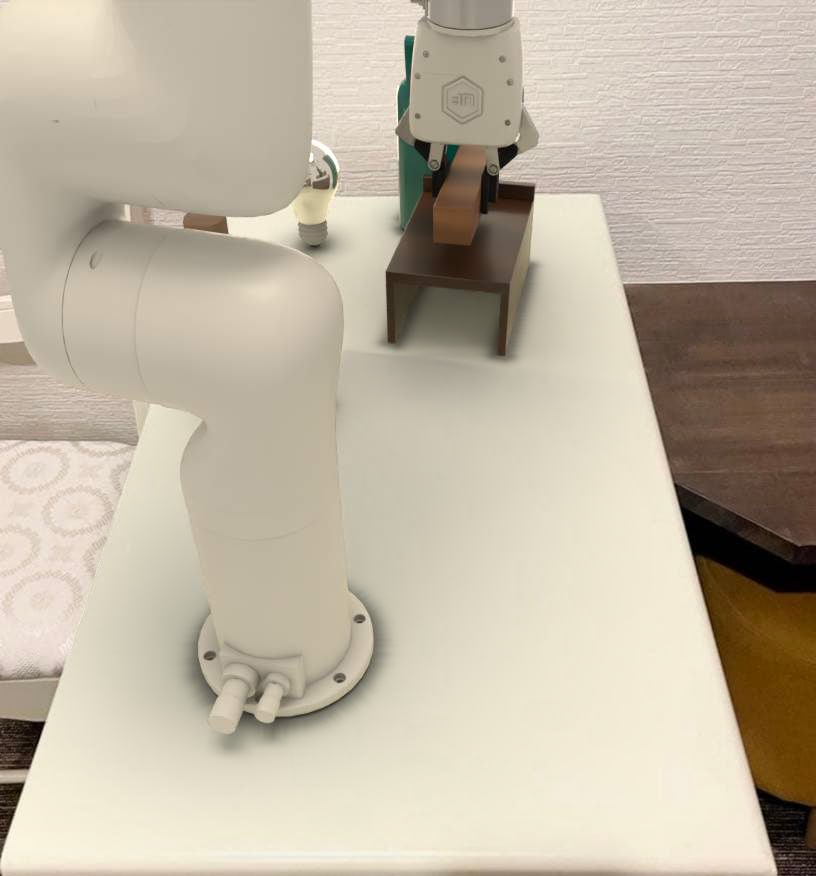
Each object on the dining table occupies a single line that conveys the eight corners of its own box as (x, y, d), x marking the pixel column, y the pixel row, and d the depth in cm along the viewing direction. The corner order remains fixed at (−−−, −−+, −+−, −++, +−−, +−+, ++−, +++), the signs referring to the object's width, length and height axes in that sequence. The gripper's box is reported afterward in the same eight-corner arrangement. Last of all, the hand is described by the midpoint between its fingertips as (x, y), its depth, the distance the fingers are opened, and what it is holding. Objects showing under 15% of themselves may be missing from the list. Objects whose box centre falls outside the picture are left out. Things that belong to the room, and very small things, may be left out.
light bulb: (349, 255, 113) (342, 151, 104) (288, 263, 112) (277, 158, 103) (339, 227, 117) (332, 125, 109) (280, 234, 116) (269, 132, 108)
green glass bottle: (414, 200, 122) (412, 6, 107) (481, 208, 120) (489, 12, 105) (392, 237, 115) (386, 36, 100) (462, 246, 114) (468, 43, 98)
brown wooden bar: (470, 246, 93) (471, 210, 90) (433, 242, 94) (433, 206, 91) (493, 180, 103) (495, 146, 100) (459, 177, 103) (460, 143, 101)
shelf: (505, 355, 98) (510, 268, 91) (387, 342, 100) (384, 255, 93) (529, 265, 110) (535, 182, 104) (424, 255, 112) (423, 173, 106)
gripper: (365, 13, 84) (374, 216, 97) (562, 24, 81) (543, 232, 94) (386, -15, 89) (391, 182, 102) (571, -5, 86) (553, 196, 99)
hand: (464, 204), depth 98 cm, fingers closed on brown wooden bar, 3 cm apart
